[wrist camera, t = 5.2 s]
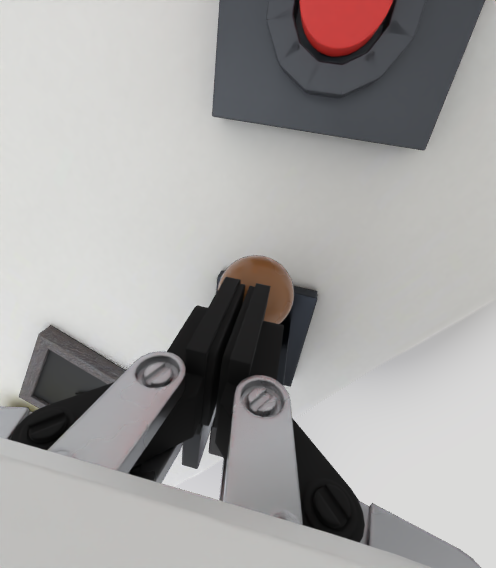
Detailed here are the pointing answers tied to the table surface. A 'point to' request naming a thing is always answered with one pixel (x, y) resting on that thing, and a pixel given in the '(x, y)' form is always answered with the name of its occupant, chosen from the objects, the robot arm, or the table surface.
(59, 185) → the table surface
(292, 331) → the switch bracket
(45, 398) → the picture frame
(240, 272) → the switch lever
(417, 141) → the grey base plate
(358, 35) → the button
